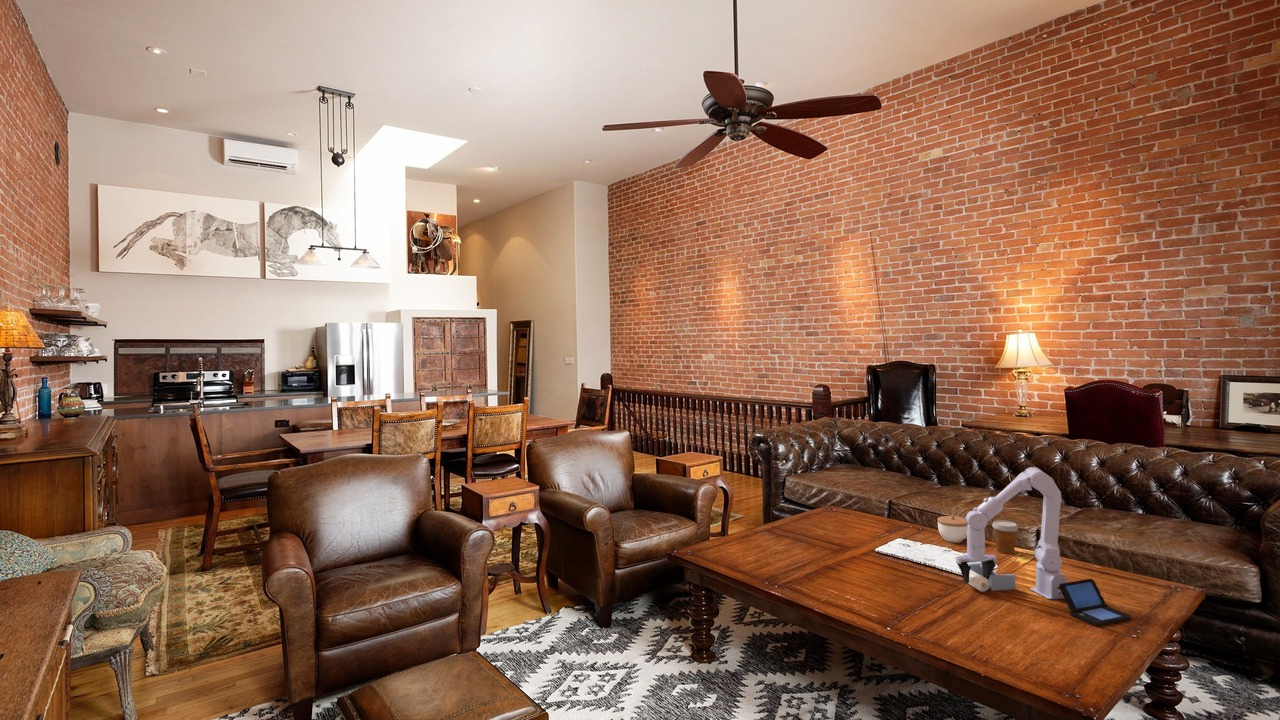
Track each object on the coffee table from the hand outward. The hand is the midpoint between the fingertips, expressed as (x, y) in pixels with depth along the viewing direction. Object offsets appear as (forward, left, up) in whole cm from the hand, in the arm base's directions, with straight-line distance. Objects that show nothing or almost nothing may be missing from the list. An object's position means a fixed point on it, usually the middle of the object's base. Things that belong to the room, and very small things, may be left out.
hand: (976, 581), depth 233 cm
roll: (0, 0, -2) cm, 2 cm away
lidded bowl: (+51, -23, -2) cm, 56 cm away
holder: (+3, -8, -2) cm, 9 cm away
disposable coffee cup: (+33, -35, -2) cm, 48 cm away
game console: (-27, -23, -3) cm, 36 cm away
